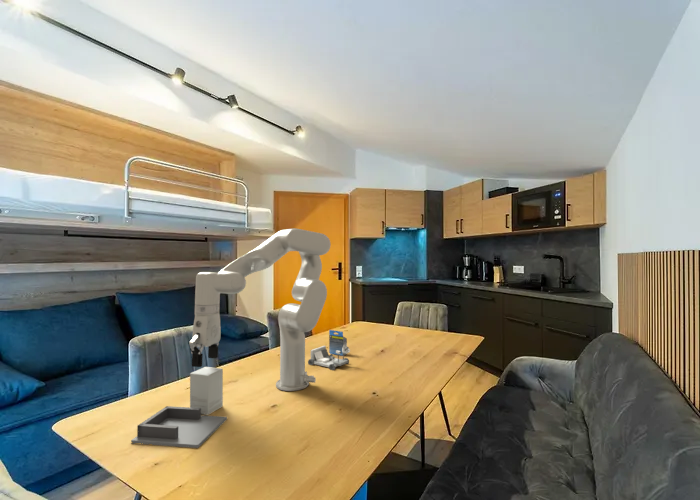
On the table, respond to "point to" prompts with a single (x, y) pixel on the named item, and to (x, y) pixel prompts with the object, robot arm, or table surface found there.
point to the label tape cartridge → (336, 342)
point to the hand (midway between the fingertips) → (205, 362)
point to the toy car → (327, 357)
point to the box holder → (178, 427)
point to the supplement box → (206, 389)
